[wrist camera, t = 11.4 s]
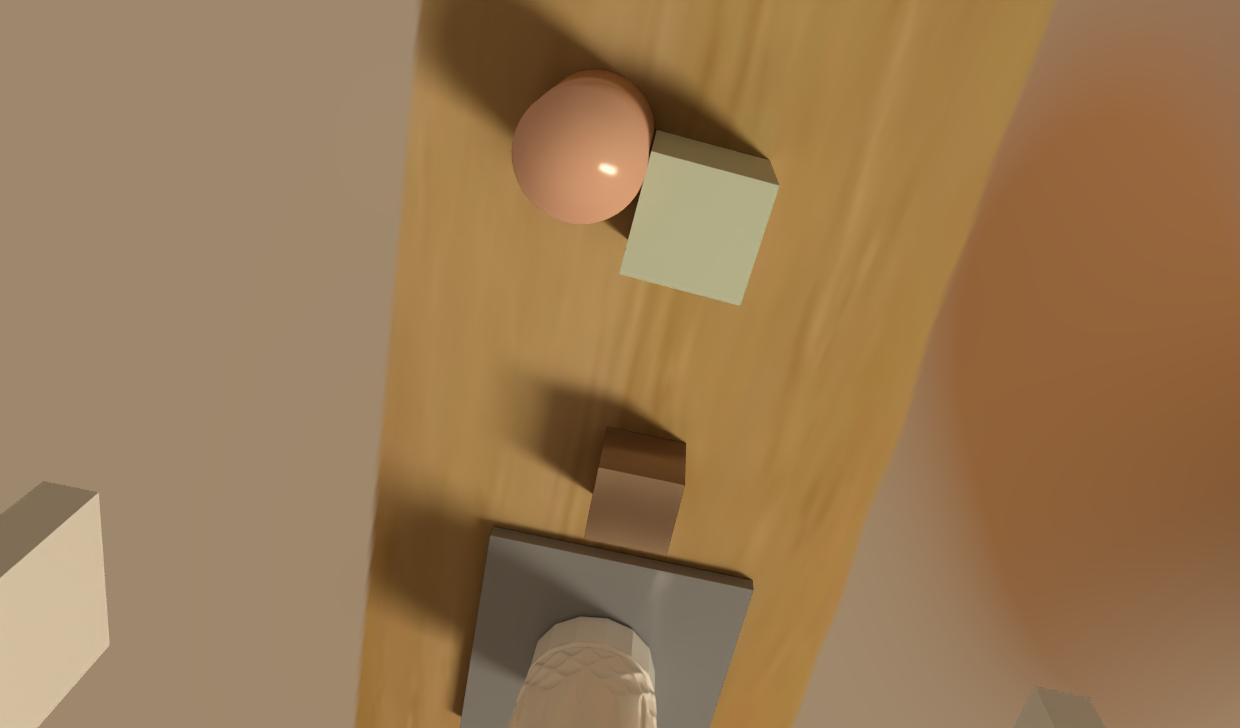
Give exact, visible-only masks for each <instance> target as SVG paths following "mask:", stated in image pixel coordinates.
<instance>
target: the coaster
mask: <svg viewBox="0 0 1240 728" xmlns="http://www.w3.org/2000/svg"><path fill="white" fill-rule="evenodd" d="M752 593H753V580H748V579H743V578H738V577H734V576H729V575H724V574H719V573H714V572H710V571H705V570H700V569H695V568H690V567H686V566H681V565H676V564H671V563H666V562H662V561H657V560H652V559H647V558H642V557H637V556H633V555H628V554H623V553H618V552H613V551H609V550H604V549H599V548H594V547H589V546H585V545H580V544H575V543H570V542H565V541H561V540H556V539H551V538H546V537H541V536H536V535H532V534H527V533H522V532H517V531H512V530H508V529H503V528H498V527H493V529H492V531H491V534H490V539H489V545H488V552H487V558H486V564H485V571H484V577H483V583H482V590H481V596H480V603H479V609H478V615H477V622H476V628H475V634H474V641H473V647H472V654H471V660H470V666H469V673H468V679H467V685H466V692H465V698H464V705H463V711H462V717H461V724H460V728H507V727H508V724H509V721H510V719H511V716H512V714H513V710H514V706H515V703H516V700H517V698H518V695H519V692H520V689H521V686H522V684H523V682H524V681H525V679H526V677H527V674H528V671H529V669H530V666H531V662H532V659H533V656H534V652H535V649H536V645H537V642H538V640H539V639H540V638H541V637H542V636H543V635H544V634H545V633H546V632H548V631H549V630H550V629H551V628H552V627H553V626H554V625H555V624H557V623H561V622H564V621H567V620H570V619H573V618H577V617H580V616H583V617H597V618H608V619H611V620H613V621H615V622H617V623H619V624H621V625H624V626H626V627H628V628H630V629H632V630H634V632H635V633H636V634H637V635H638V636H639V637H640V638H641V639H642V640H643V642H644V643H645V644H646V645H647V646H648V647H649V648H650V652H651V656H652V661H653V665H654V669H655V698H656V709H657V728H709V727H710V724H711V721H712V718H713V715H714V712H715V709H716V705H717V702H718V699H719V696H720V693H721V690H722V687H723V684H724V680H725V677H726V674H727V671H728V668H729V665H730V662H731V659H732V656H733V652H734V649H735V646H736V643H737V640H738V637H739V634H740V631H741V627H742V624H743V621H744V618H745V615H746V612H747V609H748V606H749V603H750V599H751V596H752Z"/></svg>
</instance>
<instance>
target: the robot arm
mask: <svg viewBox="0 0 1240 728" xmlns="http://www.w3.org/2000/svg"><path fill="white" fill-rule="evenodd" d="M102 549H103V548H102V534H101V521H100V507H99V493H98V492H94V491H89V490H84V489H79V488H74V487H69V486H65V485H60V484H55V483H50V482H45V481H43V482H42V483H41V484H39V485H38V486H37V487H35V488H34V489H33V490H32V491H30V492H29V493H28V494H26V495H25V496H24V497H23V498H21V499H20V500H19V501H17V502H16V503H15V504H14V505H12V506H11V507H10V508H9V509H7V510H6V511H5V512H3V513H2V514H1V515H0V728H37V727H38V726H39V725H40V724H41V723H42V722H43V721H44V719H45V718H46V717H47V716H48V715H49V714H50V712H51V711H52V710H53V709H54V708H55V707H56V706H57V704H58V703H59V702H60V701H61V700H62V699H63V698H64V697H65V695H66V694H67V693H68V692H69V691H70V690H71V688H72V687H73V686H74V685H75V684H76V683H77V682H78V680H79V679H80V678H81V677H82V676H83V675H84V674H85V672H86V671H87V670H88V669H89V668H90V667H91V666H92V664H93V663H94V662H95V661H96V660H97V659H98V658H99V656H100V655H101V654H102V653H103V652H104V651H105V650H106V648H107V647H108V646H109V631H108V618H107V603H106V589H105V575H104V563H103V550H102ZM1014 728H1106V727H1105V725H1104V724H1103V722H1102V720H1101V718H1100V716H1099V714H1098V712H1097V711H1096V709H1095V707H1094V705H1093V703H1092V701H1091V699H1090V698H1089V697H1085V696H1079V695H1074V694H1070V693H1065V692H1060V691H1056V690H1051V689H1046V688H1041V687H1036V686H1035V688H1034V689H1033V691H1032V693H1031V695H1030V697H1029V699H1028V701H1027V703H1026V705H1025V707H1024V709H1023V710H1022V712H1021V714H1020V716H1019V718H1018V720H1017V722H1016V724H1015V726H1014Z"/></svg>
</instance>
